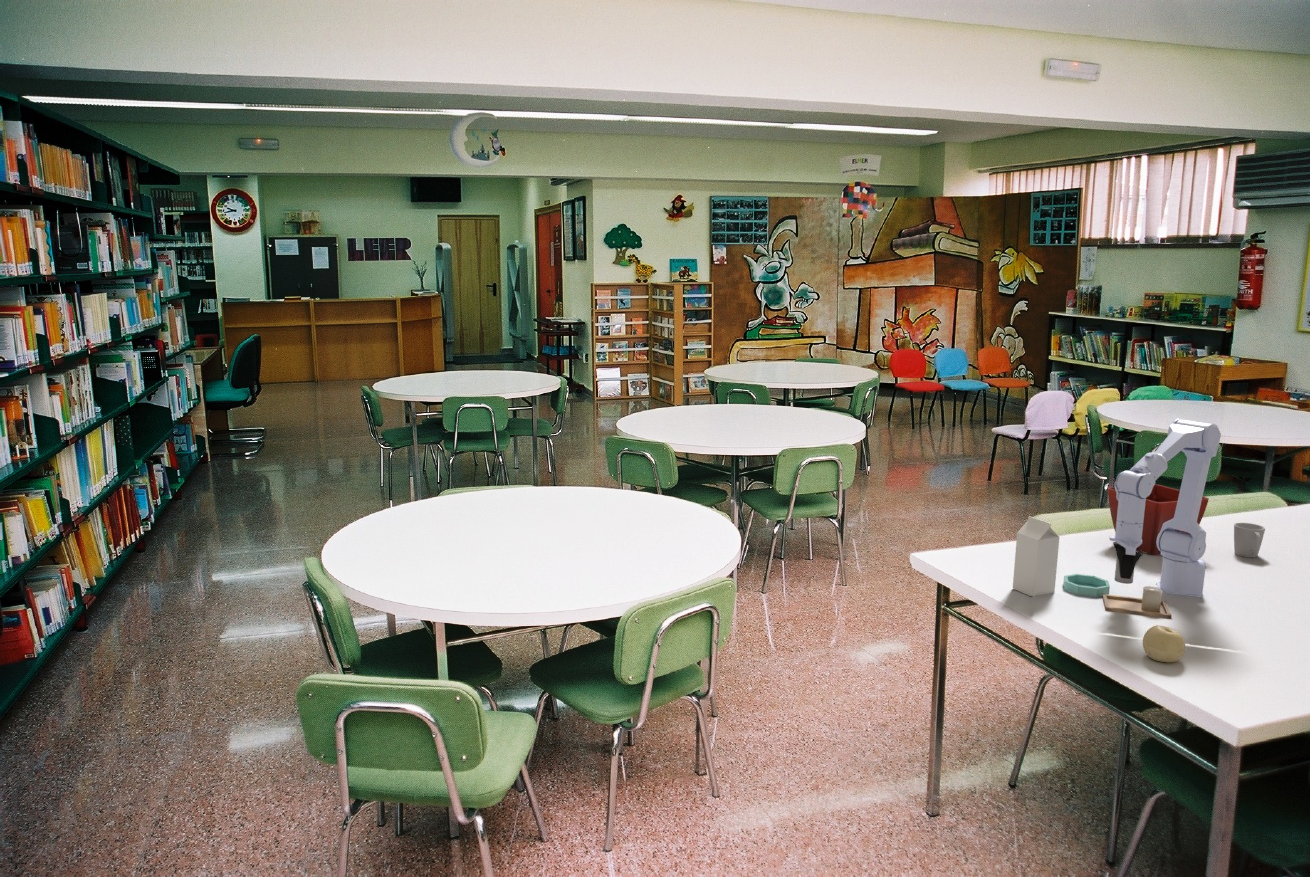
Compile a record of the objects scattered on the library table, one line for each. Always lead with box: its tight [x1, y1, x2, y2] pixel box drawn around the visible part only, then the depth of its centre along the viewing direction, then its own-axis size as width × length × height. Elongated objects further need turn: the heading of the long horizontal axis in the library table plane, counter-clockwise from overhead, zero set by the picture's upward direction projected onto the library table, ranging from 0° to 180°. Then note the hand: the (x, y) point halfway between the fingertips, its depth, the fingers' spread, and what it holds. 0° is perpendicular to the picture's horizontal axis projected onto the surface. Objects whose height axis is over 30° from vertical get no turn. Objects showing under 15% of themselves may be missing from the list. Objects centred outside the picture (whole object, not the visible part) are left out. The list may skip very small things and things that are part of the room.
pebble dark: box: [1114, 558, 1135, 585], centre depth 224 cm, size 4×4×5 cm
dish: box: [1063, 573, 1111, 598], centre depth 237 cm, size 10×10×3 cm
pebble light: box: [1141, 585, 1163, 612], centre depth 223 cm, size 4×4×5 cm
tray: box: [1101, 594, 1172, 619], centre depth 225 cm, size 14×10×1 cm
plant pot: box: [1107, 483, 1210, 556], centre depth 272 cm, size 19×19×17 cm
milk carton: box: [1012, 515, 1060, 598], centre depth 235 cm, size 7×7×19 cm
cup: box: [1233, 522, 1266, 558], centre depth 266 cm, size 8×10×8 cm
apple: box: [1142, 624, 1186, 663], centre depth 196 cm, size 8×8×8 cm
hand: (1124, 575), depth 225 cm, fingers closed on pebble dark, 4 cm apart
